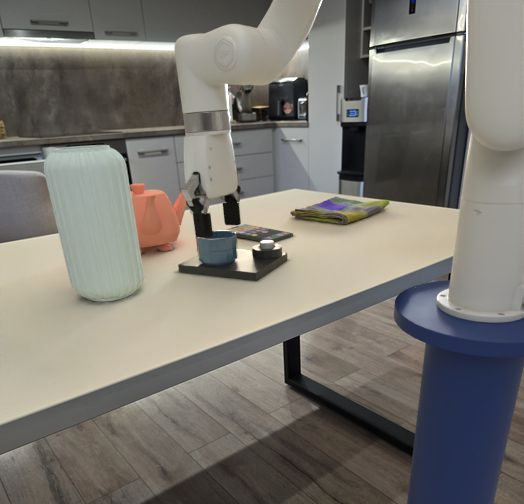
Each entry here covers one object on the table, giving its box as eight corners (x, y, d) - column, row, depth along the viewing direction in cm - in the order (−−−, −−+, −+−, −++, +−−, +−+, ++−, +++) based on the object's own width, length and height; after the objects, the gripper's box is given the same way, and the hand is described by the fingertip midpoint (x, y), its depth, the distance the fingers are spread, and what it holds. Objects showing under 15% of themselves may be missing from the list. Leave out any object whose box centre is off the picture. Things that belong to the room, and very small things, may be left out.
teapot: (196, 239, 109) (189, 177, 103) (163, 261, 95) (153, 190, 89) (134, 238, 114) (124, 179, 108) (93, 258, 99) (78, 191, 93)
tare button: (276, 247, 90) (275, 240, 89) (270, 250, 88) (269, 243, 87) (263, 246, 91) (263, 239, 90) (257, 249, 89) (257, 242, 88)
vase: (125, 278, 86) (100, 143, 76) (159, 291, 78) (137, 144, 68) (62, 295, 79) (26, 149, 69) (93, 312, 72) (58, 151, 62)
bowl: (244, 257, 90) (243, 231, 87) (225, 267, 84) (223, 240, 82) (212, 254, 93) (209, 229, 90) (191, 264, 87) (188, 238, 85)
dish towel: (392, 209, 131) (393, 198, 130) (344, 226, 115) (344, 214, 114) (338, 204, 142) (338, 194, 140) (287, 219, 125) (286, 208, 124)
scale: (287, 259, 92) (287, 244, 90) (256, 280, 81) (255, 263, 80) (216, 253, 98) (215, 238, 97) (178, 272, 88) (176, 256, 86)
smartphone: (269, 243, 103) (269, 238, 103) (221, 235, 113) (221, 230, 112) (293, 236, 109) (293, 230, 108) (245, 228, 118) (245, 223, 117)
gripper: (215, 124, 86) (225, 220, 94) (156, 129, 73) (173, 241, 80) (252, 121, 83) (259, 221, 91) (197, 126, 70) (211, 243, 77)
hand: (219, 230), depth 85 cm, fingers open, 9 cm apart
